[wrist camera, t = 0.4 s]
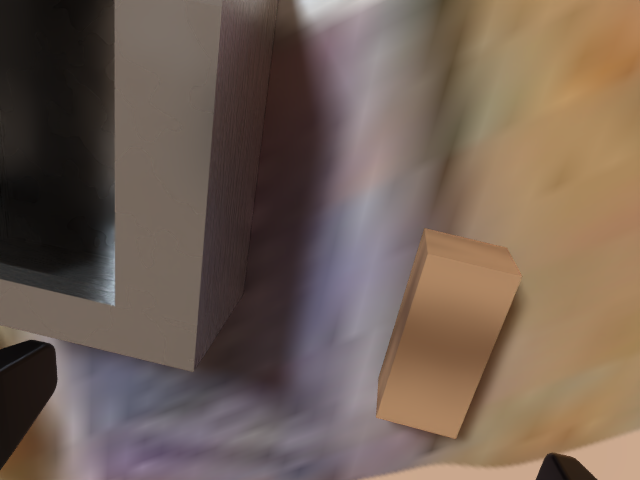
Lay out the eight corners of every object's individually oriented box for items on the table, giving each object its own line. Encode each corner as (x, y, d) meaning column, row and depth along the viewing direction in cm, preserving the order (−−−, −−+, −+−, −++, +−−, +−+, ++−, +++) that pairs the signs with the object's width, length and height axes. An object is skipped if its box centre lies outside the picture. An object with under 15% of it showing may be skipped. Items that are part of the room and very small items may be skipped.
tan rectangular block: (449, 392, 24) (455, 438, 21) (378, 374, 24) (375, 417, 21) (505, 245, 20) (522, 276, 18) (424, 226, 21) (427, 253, 18)
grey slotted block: (243, 293, 23) (193, 371, 17) (9, 240, 24) (-109, 298, 18) (283, -42, 17) (229, -83, 12) (-23, -94, 18) (-204, -154, 13)
